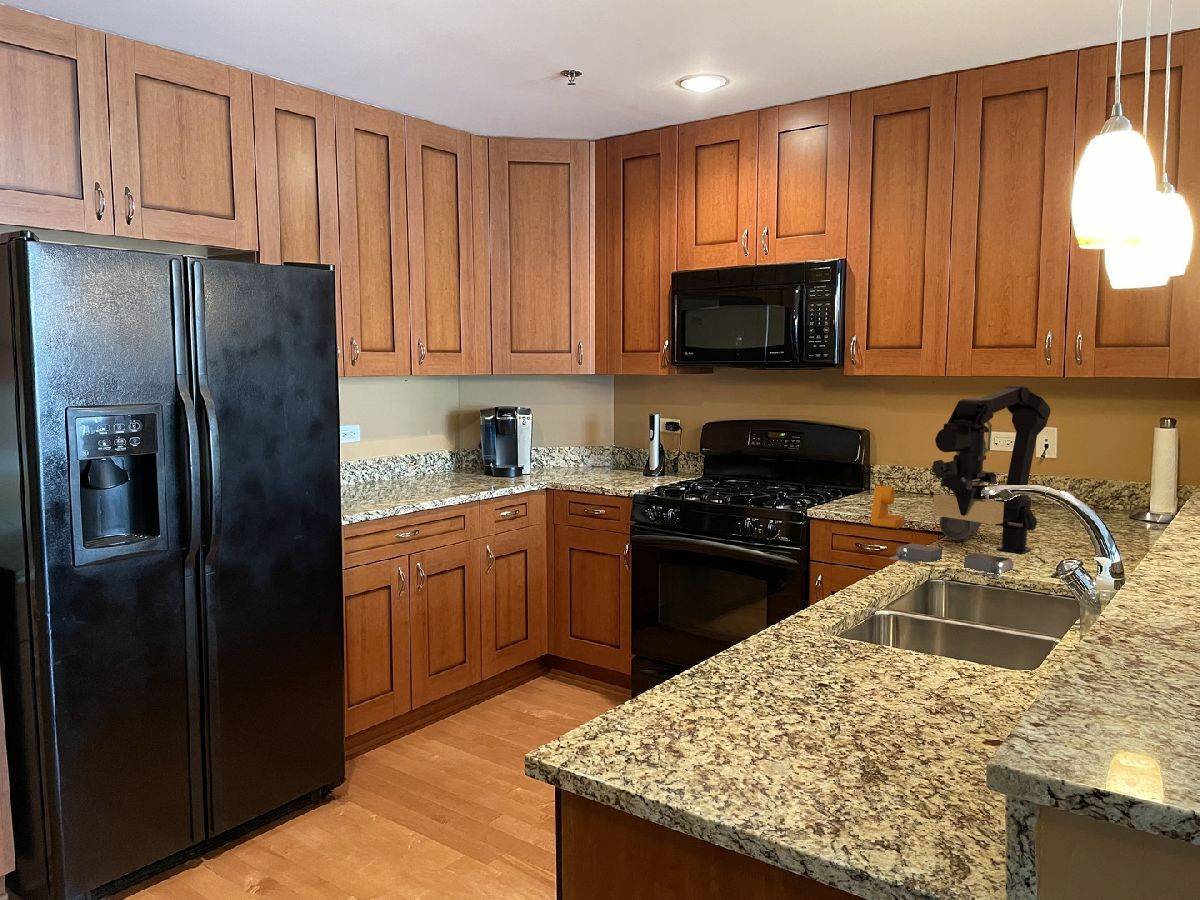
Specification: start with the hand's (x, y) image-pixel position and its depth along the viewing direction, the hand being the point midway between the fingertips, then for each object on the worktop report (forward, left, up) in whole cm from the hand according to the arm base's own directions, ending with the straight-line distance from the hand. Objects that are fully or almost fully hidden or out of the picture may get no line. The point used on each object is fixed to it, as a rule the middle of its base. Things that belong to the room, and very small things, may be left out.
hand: (967, 514), depth 217 cm
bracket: (-31, -36, -12) cm, 49 cm away
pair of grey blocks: (+7, 0, -11) cm, 13 cm away
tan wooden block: (0, 0, -1) cm, 1 cm away
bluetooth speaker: (-29, -13, -12) cm, 33 cm away
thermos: (-77, -31, -12) cm, 83 cm away
